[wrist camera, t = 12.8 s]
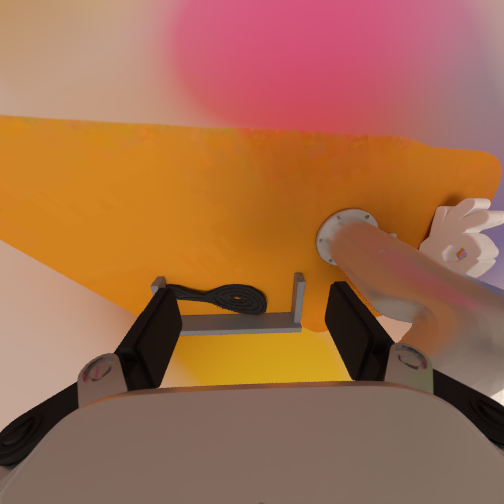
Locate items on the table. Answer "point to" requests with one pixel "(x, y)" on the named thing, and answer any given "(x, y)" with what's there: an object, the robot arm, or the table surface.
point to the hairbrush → (227, 298)
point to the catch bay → (244, 317)
